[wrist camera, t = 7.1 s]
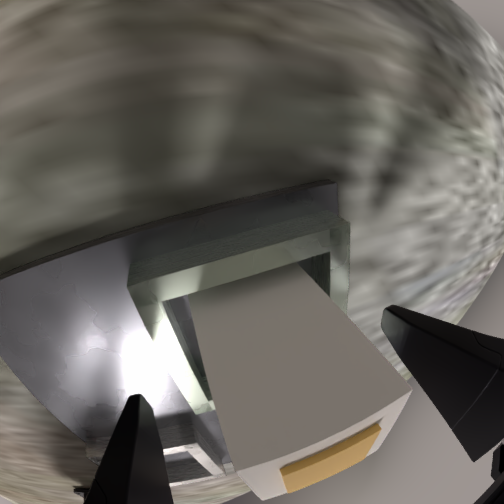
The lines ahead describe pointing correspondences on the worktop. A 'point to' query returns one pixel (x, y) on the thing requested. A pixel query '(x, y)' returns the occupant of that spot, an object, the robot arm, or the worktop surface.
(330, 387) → the plug
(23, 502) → the worktop surface
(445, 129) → the worktop surface
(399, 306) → the robot arm
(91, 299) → the panel
